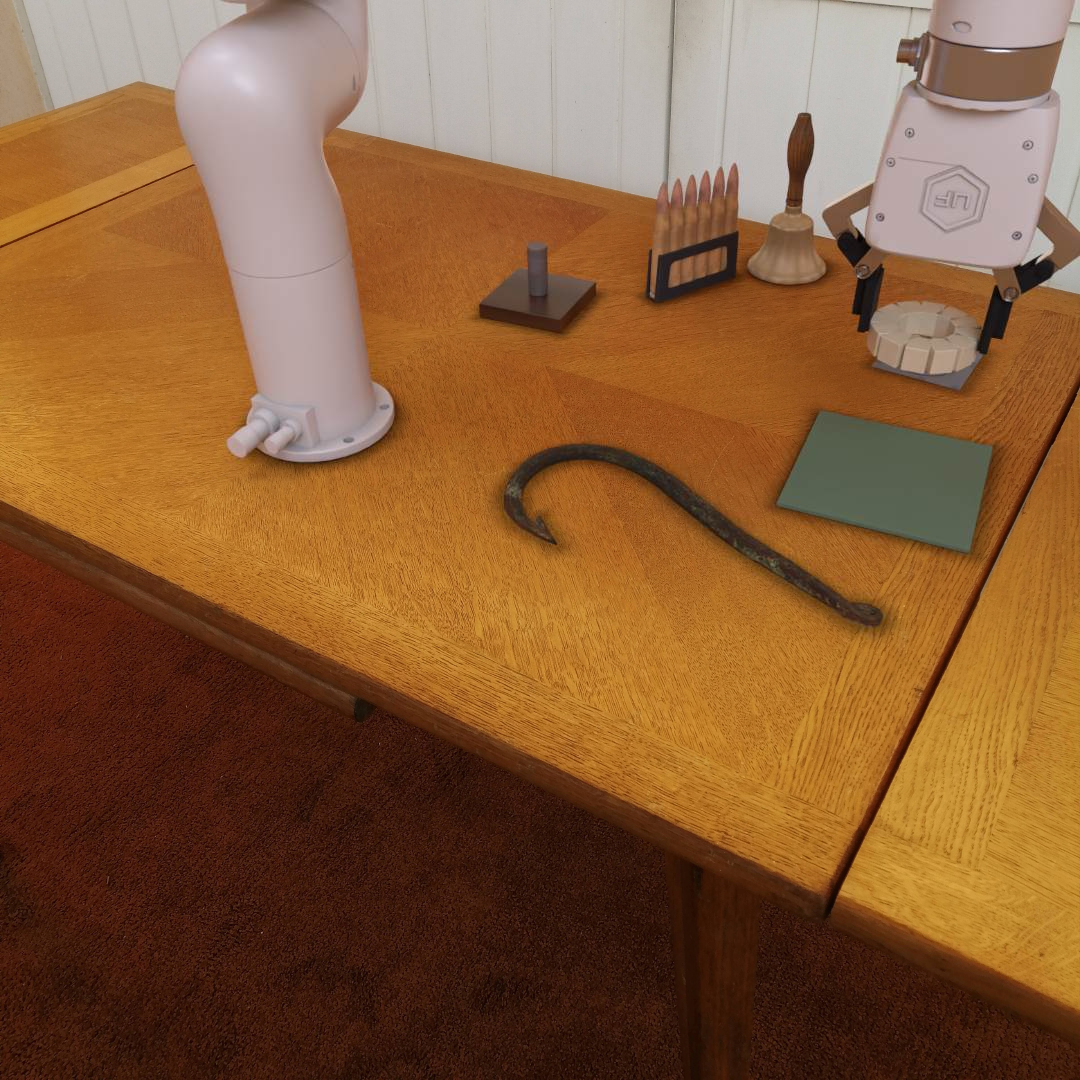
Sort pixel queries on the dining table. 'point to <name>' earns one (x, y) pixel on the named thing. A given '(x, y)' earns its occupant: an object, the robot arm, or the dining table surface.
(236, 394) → the dining table surface
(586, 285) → the peg stand
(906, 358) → the segmented ring
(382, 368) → the dining table surface
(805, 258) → the hand bell
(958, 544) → the mat
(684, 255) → the ammunition clip
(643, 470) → the hook
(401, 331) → the dining table surface
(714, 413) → the dining table surface
